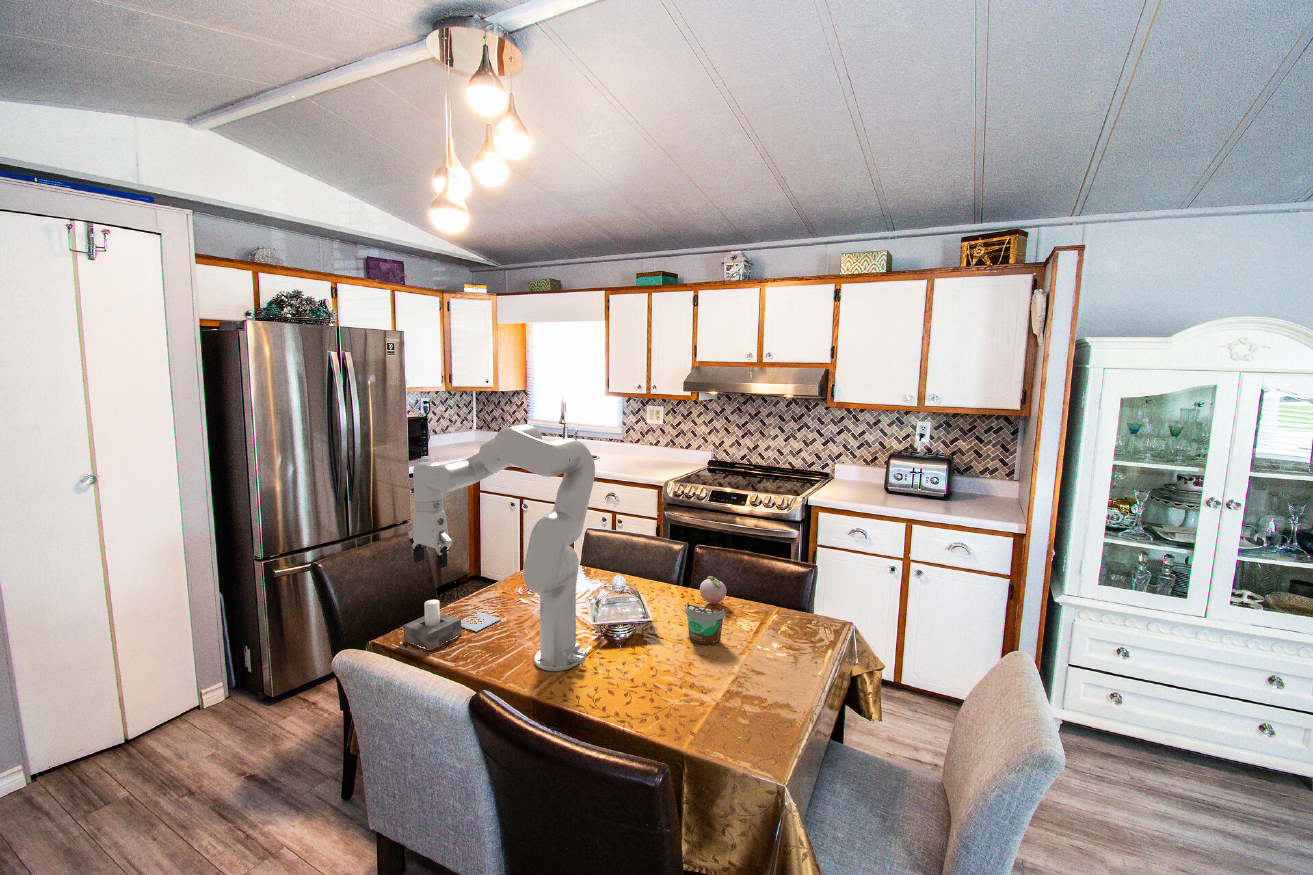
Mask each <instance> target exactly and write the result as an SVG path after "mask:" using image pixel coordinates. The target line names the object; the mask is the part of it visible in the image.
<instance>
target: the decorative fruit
mask: <svg viewBox="0 0 1313 875" xmlns="http://www.w3.org/2000/svg"><path fill="white" fill-rule="evenodd" d="M699 586H700V587H699V594H700V596H701V598H702V599H703V600H704V601H706V602H707V603H709V604H711V605H712V604H714V605H718V604H719V603H721V602H722V601H723V600H724V599H725V597H726V595H727V587H726V585H725V584H724V583H723V582H722V581H720V580H718V579H717V578H716V577H715V576H714V575H713V576H711V575H710V576H709V575H708V576H707V578H706V579H705V580H703V581H702V582H701V584H700V585H699Z"/></svg>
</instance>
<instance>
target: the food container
mask: <svg viewBox="0 0 1313 875" xmlns="http://www.w3.org/2000/svg"><path fill="white" fill-rule="evenodd" d="M684 613H685V615H687V625H688V629H687V630H688V638H689V641H690V642H692V643H693V644H694V645H695V644H696V645H697V646H702V645H704V646H703V647H705V646H706V647H708V646H709V645H711V646H715V645H718V644H719V643H720V642H721V637H722V636H721V635H722V630H723V629H722V628H723V621H724V619H725V618H726V611H725V609H722V610H715V609H712V608H711V607H710V608H709V607H706V606H697V605H692V604H690V602H689V600H688V601H687V603H686V605H685V609H684ZM709 647H710V646H709Z"/></svg>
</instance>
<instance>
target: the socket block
mask: <svg viewBox="0 0 1313 875" xmlns="http://www.w3.org/2000/svg"><path fill="white" fill-rule="evenodd" d="M461 620H462V619H461V618H457V617H455V616H451V615H448V614H445V613H441V612H440V624H438V625H436V626H433V627H428V626H425V615H424V616H421V617H419V618H417V619H415V620H412V621H410V622H408V623H405V624H403V625H402V626H403V641H404V640H405V641H408V642H410V643H414V644H416V645H419V646H421V647H425V648H426V649H432V648H434V647H436V646H438V645H441V644H442V643H445V642H446V641H449V640H450V639H453V638H455V637H456V636H459V635H460V634H461V635H462V628H461Z"/></svg>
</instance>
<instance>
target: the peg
mask: <svg viewBox="0 0 1313 875" xmlns="http://www.w3.org/2000/svg"><path fill="white" fill-rule="evenodd" d="M440 606H441V605H440V600H439V599H429V600H426V601H425V602H424V616H425V626H428V627H433V626H436V625H438V624H440V613H441V611H440Z"/></svg>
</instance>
